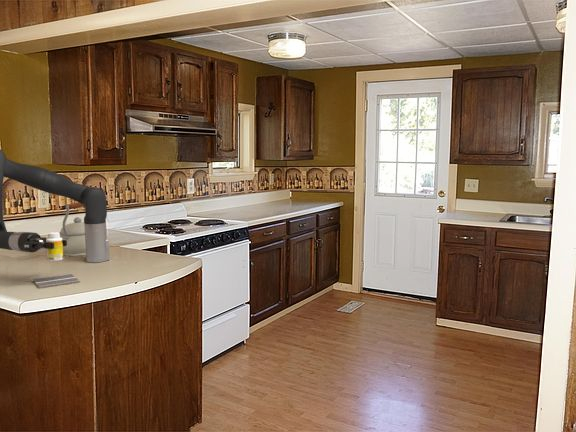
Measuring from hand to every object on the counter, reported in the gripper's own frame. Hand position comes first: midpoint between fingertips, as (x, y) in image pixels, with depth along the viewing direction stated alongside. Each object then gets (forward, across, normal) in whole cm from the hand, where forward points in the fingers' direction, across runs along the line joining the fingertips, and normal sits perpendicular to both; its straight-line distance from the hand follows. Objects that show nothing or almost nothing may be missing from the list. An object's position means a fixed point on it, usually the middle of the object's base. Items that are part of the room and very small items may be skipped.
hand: (59, 244), depth 189 cm
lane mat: (-5, +2, +15) cm, 16 cm away
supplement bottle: (-3, 0, +6) cm, 7 cm away
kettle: (-38, +52, +15) cm, 66 cm away
